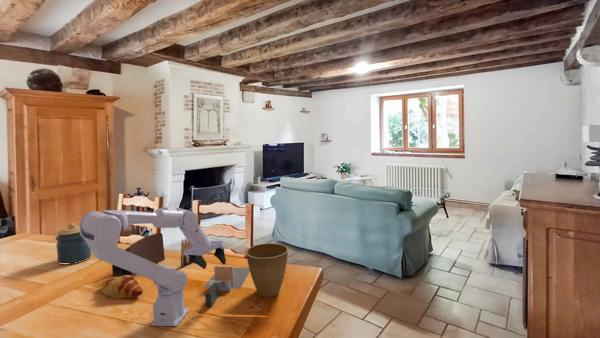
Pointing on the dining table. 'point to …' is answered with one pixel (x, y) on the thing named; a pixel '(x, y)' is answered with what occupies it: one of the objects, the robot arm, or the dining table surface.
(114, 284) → the croissant
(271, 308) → the dining table surface
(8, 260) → the dining table surface
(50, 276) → the dining table surface
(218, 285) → the turner
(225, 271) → the tile
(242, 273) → the mat
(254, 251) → the plant pot
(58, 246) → the canister
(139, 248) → the letter holder
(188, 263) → the ammunition clip
